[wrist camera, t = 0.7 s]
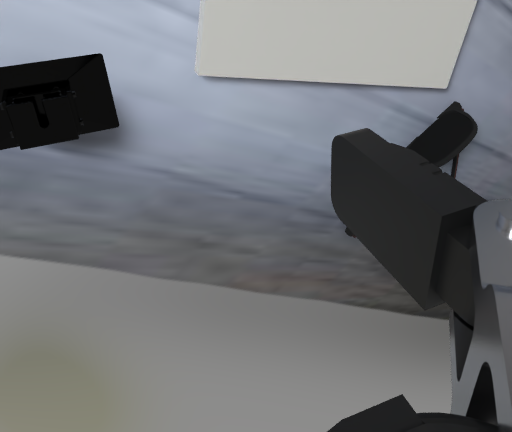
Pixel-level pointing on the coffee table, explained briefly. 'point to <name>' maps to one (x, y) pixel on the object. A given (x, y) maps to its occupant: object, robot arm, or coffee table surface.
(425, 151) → the sunglasses
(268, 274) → the coffee table surface
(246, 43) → the board
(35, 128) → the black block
